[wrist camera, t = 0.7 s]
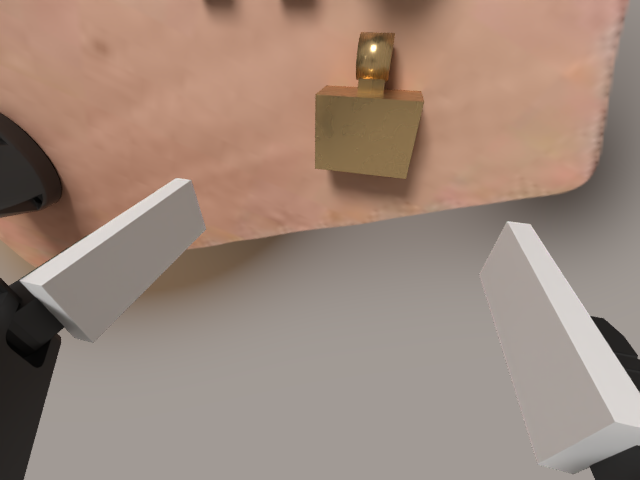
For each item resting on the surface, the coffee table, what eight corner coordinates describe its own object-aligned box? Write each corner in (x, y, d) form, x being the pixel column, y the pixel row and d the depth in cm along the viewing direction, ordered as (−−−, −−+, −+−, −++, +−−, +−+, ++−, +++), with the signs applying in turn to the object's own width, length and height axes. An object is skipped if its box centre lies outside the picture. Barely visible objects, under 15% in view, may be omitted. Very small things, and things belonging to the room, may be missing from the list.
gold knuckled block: (328, 30, 21) (316, 31, 18) (433, 33, 20) (439, 35, 17) (324, 152, 28) (315, 168, 24) (405, 161, 26) (405, 178, 23)
